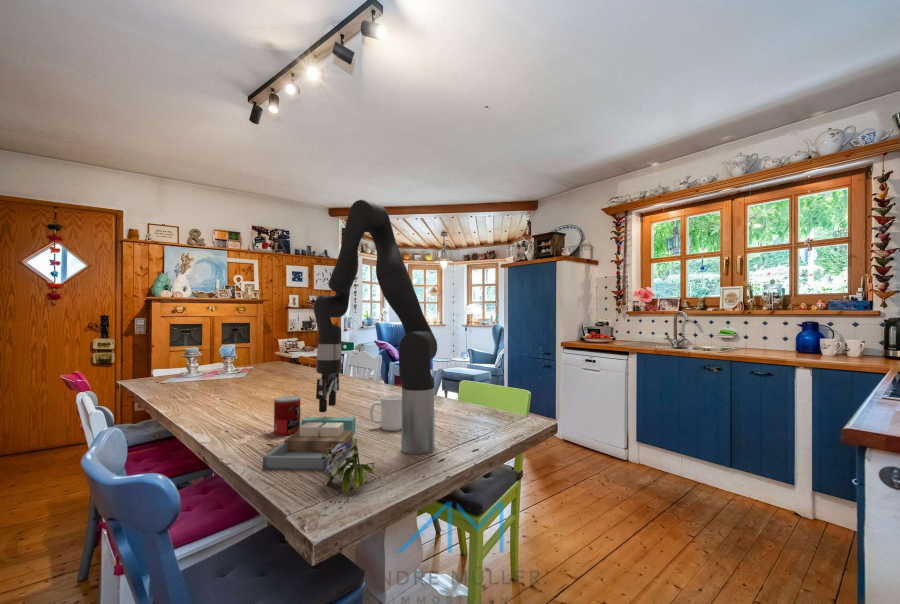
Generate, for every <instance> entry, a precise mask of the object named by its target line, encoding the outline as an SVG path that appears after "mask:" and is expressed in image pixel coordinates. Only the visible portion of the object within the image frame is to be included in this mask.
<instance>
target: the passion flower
mask: <svg viewBox="0 0 900 604" xmlns="http://www.w3.org/2000/svg"><path fill="white" fill-rule="evenodd" d="M357 441H358V438H353V442H351V443H350V442H347V443H345V444H343V445H342V446H341V445H340V447H339V448H338V447H337V451H336V453H334V454H333V453H332V452H331V450H332V448H333V446H334V445H335V443H334V444H332V445H331V446H330V447H329V448H328V449H326V451H325V453H324V454H323V455H322V458H321V459H324V458H325V456H327V455H328V454H331V458H330V460H329V461H328V463H326V464H325V467H326V469H325V470H324V471H323V474H324V477H325V478H326V481H325V482H324V486H330V485H331V484H332V483H333V482H332V481H333V480H334V479H335V477H336V476H337V475H338V479H339V481H341V485H342V488H341V491H342V494H343V495H345V496H346V497H349V490H350V489H351V486H353V492H354V493H355V492H357V491H358V490H359V488H360V487H362V486H363V485H364V484H365V482H366V480H367V479H366V478H367V474H366V473H369V474H374V473H375V464H376V462H375V461H374V462H370V463H367V464H366V463H360V457H359V449H358V445H357ZM369 465H371V466H369ZM347 466H348V467H347ZM352 475H353V477H352ZM352 478H353V481H352ZM352 483H353V485H352Z"/></svg>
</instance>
